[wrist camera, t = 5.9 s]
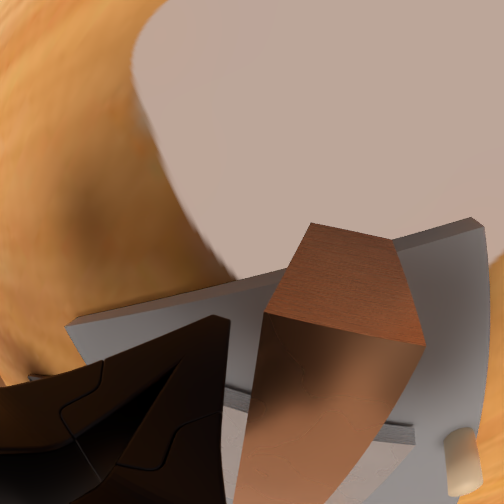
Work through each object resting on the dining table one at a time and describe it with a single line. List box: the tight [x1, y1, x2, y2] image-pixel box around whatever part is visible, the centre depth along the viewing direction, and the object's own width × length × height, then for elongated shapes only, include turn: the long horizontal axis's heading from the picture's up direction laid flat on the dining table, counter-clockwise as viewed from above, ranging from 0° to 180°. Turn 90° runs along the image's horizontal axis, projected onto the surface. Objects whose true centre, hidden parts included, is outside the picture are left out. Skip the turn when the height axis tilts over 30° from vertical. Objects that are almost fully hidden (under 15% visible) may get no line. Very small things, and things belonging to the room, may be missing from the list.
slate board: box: [65, 217, 490, 504], centre depth 13 cm, size 20×20×4 cm
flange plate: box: [221, 223, 426, 504], centre depth 10 cm, size 18×10×5 cm, turn 175°
